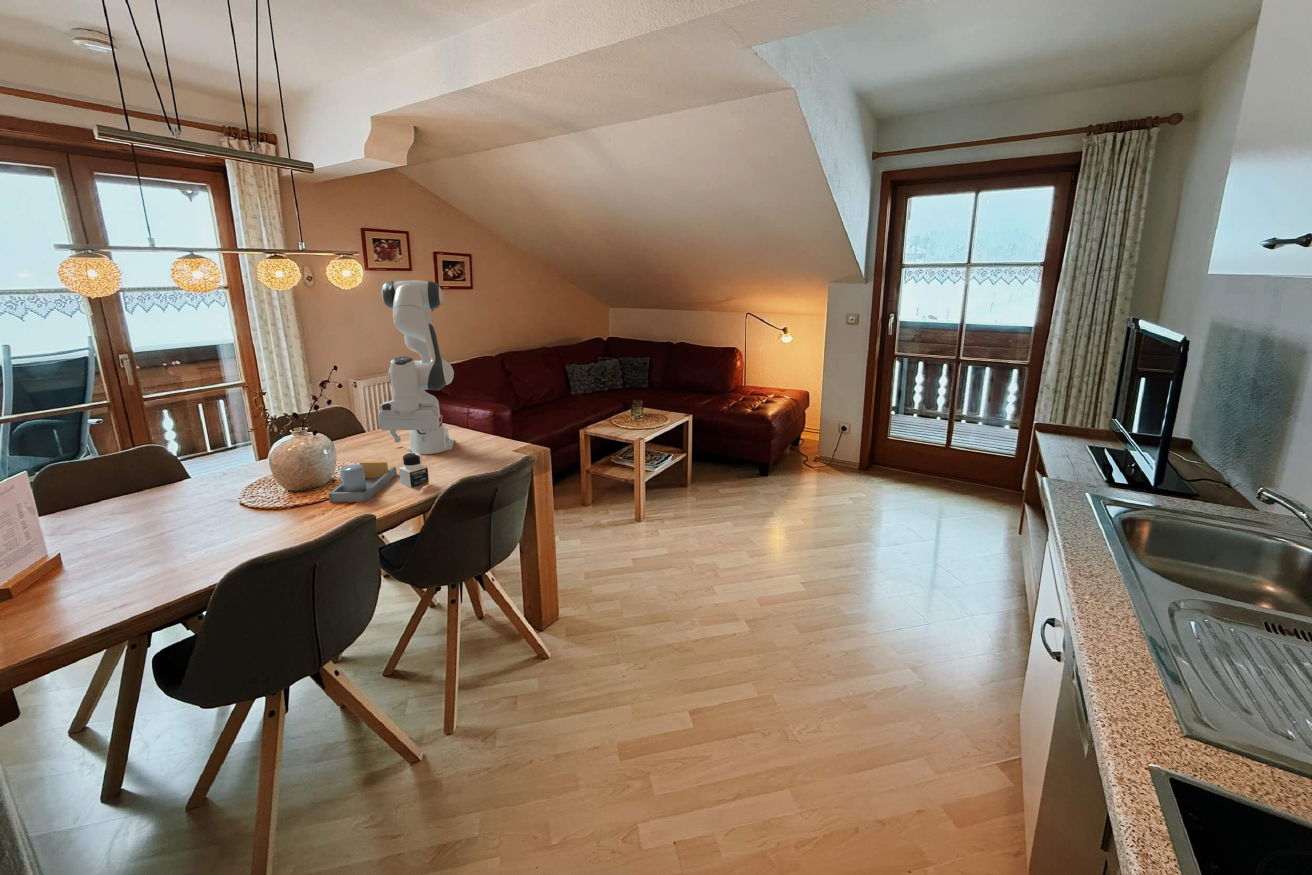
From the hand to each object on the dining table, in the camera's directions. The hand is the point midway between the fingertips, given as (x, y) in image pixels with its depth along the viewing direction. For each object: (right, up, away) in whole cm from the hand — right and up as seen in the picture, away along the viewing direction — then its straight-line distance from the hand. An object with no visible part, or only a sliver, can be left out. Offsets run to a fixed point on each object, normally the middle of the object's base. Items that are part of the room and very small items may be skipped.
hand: (411, 441), depth 205 cm
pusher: (-17, -13, +8) cm, 23 cm away
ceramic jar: (-16, -19, -8) cm, 26 cm away
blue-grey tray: (-16, -17, 0) cm, 24 cm away
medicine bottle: (0, -16, +5) cm, 17 cm away
